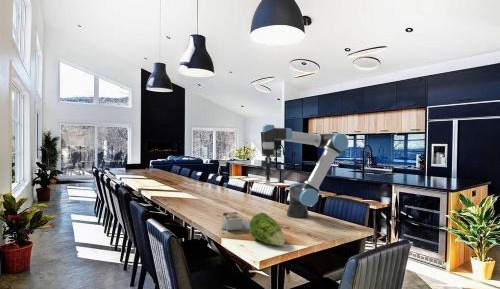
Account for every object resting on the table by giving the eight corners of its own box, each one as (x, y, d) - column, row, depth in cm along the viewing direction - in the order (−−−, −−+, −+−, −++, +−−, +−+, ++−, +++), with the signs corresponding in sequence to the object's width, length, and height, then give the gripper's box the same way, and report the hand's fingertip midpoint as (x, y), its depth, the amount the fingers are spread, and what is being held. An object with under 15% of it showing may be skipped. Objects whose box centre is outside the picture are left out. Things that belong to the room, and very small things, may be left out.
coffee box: (227, 219, 173) (222, 212, 188) (227, 230, 173) (222, 222, 188) (242, 218, 175) (236, 211, 191) (242, 229, 175) (236, 221, 191)
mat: (253, 222, 194) (253, 221, 194) (252, 230, 176) (252, 229, 176) (225, 221, 194) (225, 220, 194) (221, 229, 176) (221, 228, 176)
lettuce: (271, 259, 145) (272, 235, 142) (244, 236, 164) (245, 214, 160) (293, 249, 153) (294, 226, 150) (265, 228, 172) (266, 207, 168)
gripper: (262, 148, 200) (261, 183, 201) (262, 148, 187) (262, 186, 187) (273, 148, 200) (273, 183, 200) (274, 149, 187) (274, 186, 187)
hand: (267, 185), depth 194 cm, fingers closed
